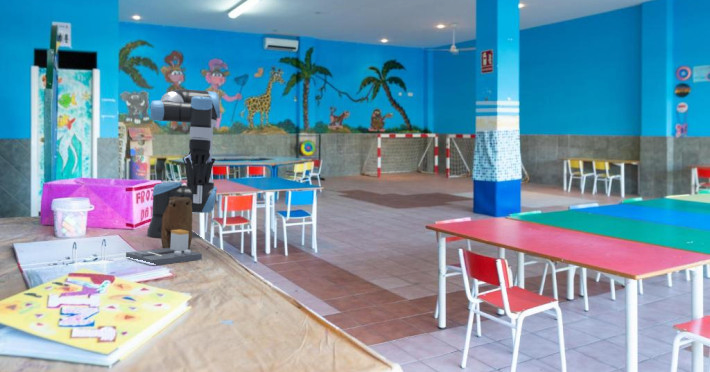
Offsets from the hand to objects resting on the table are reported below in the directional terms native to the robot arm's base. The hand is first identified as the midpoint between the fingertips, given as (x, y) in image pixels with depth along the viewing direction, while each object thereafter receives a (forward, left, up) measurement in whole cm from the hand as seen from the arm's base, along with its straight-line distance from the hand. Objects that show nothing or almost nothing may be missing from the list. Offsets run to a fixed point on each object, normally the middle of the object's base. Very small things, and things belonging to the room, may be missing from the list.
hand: (197, 202), depth 217 cm
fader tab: (+7, 0, -17) cm, 18 cm away
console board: (+13, 0, -19) cm, 23 cm away
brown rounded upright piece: (-2, -15, -20) cm, 25 cm away
